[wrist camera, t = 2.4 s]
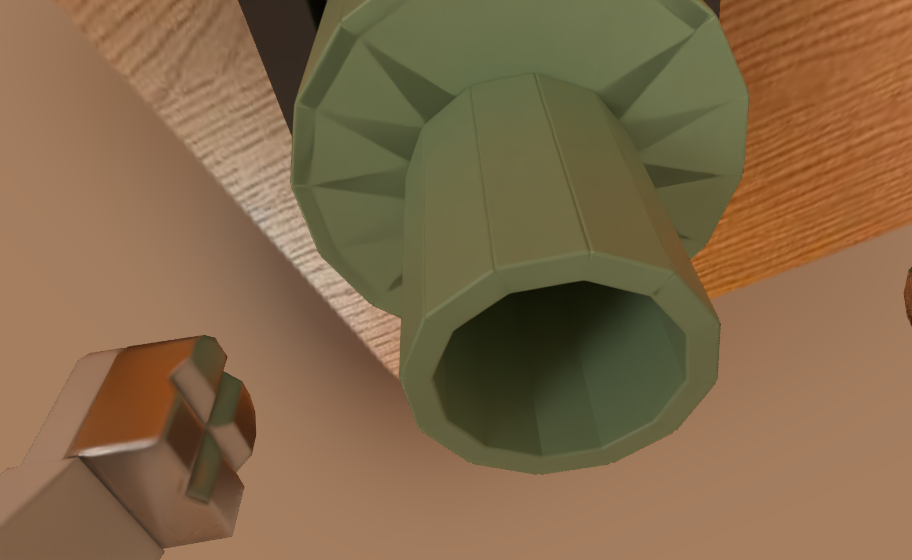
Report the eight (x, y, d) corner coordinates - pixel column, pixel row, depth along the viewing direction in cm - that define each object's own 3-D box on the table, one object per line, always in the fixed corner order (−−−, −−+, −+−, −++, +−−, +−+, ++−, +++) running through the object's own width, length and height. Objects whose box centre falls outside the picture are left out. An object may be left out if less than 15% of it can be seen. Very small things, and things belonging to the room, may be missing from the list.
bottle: (389, 78, 23) (348, 576, 10) (325, -155, 19) (98, 171, 5) (592, 35, 22) (841, 506, 9) (573, -217, 18) (987, -15, 5)
